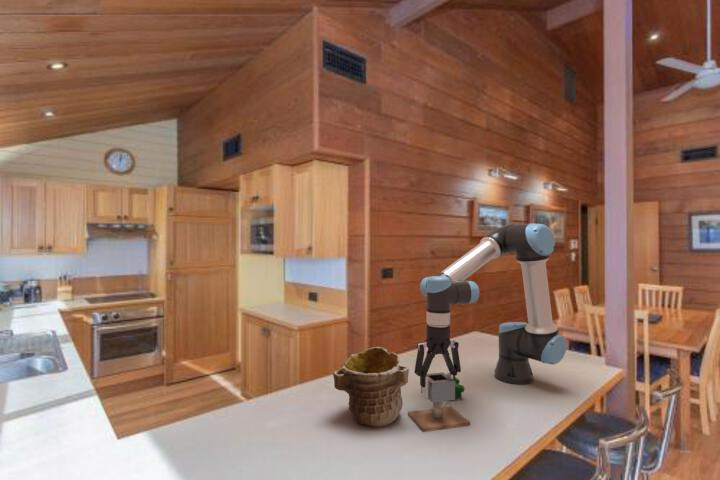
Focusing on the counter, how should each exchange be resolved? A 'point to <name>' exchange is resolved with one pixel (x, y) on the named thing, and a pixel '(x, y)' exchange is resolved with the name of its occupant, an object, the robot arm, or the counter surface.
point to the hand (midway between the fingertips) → (437, 395)
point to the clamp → (458, 388)
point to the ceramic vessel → (373, 385)
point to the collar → (440, 387)
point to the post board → (438, 418)
